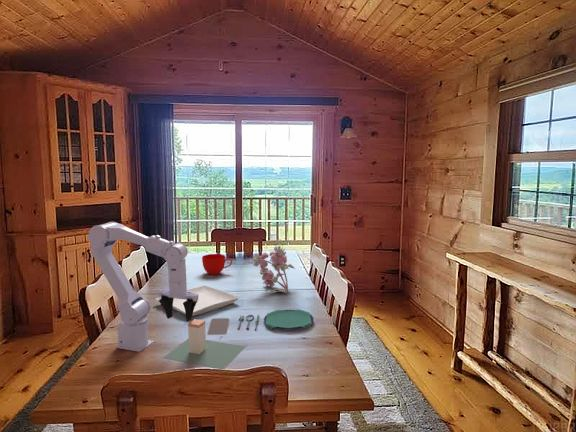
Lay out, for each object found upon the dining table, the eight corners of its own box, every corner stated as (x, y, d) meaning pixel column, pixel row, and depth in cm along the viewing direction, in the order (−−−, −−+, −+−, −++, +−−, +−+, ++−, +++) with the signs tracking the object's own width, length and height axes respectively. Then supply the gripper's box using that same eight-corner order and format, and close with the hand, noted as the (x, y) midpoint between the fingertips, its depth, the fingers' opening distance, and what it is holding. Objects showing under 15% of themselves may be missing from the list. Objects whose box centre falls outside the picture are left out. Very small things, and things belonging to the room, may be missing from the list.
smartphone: (206, 334, 144) (211, 318, 159) (206, 337, 144) (211, 320, 159) (226, 334, 145) (229, 318, 159) (226, 336, 145) (229, 320, 160)
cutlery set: (315, 333, 147) (315, 327, 147) (235, 334, 147) (235, 328, 147) (311, 313, 167) (311, 308, 167) (241, 314, 167) (240, 309, 167)
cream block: (189, 352, 131) (188, 323, 130) (195, 347, 135) (194, 319, 133) (199, 354, 130) (198, 325, 128) (205, 348, 133) (205, 320, 132)
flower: (306, 281, 206) (285, 238, 206) (303, 290, 183) (280, 242, 184) (271, 296, 208) (251, 253, 208) (264, 308, 185) (242, 259, 186)
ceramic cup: (230, 276, 219) (230, 259, 218) (200, 276, 219) (199, 259, 218) (233, 270, 232) (233, 254, 231) (205, 270, 232) (204, 253, 231)
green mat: (162, 358, 127) (162, 357, 127) (190, 338, 142) (190, 337, 142) (223, 370, 120) (223, 369, 120) (245, 347, 135) (245, 346, 135)
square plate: (240, 304, 177) (240, 296, 177) (188, 322, 157) (187, 313, 157) (205, 291, 196) (205, 283, 195) (154, 305, 176) (153, 297, 175)
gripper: (202, 278, 133) (204, 317, 135) (166, 274, 138) (168, 312, 139) (191, 284, 126) (192, 325, 128) (153, 280, 131) (155, 319, 133)
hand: (179, 318), depth 133 cm, fingers open, 7 cm apart
